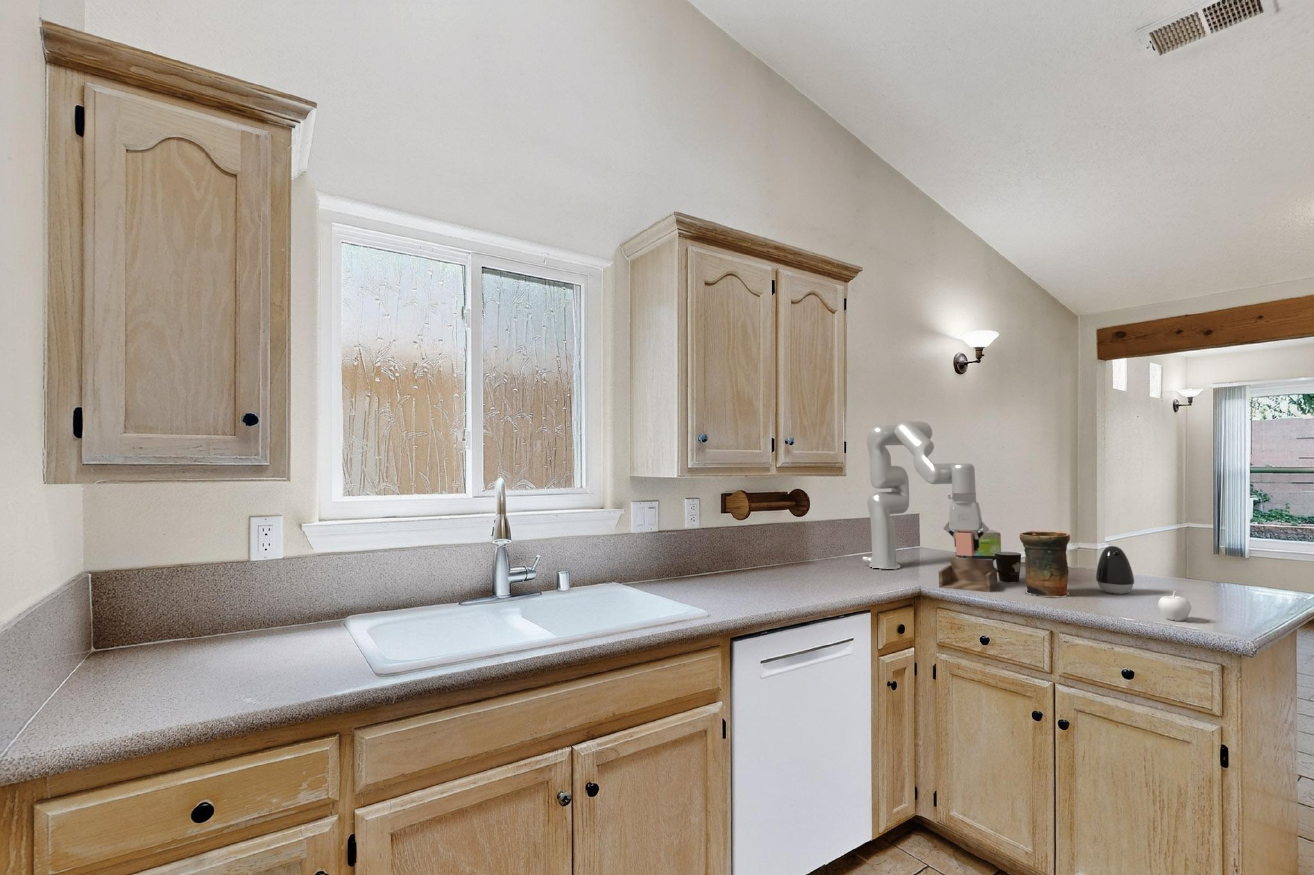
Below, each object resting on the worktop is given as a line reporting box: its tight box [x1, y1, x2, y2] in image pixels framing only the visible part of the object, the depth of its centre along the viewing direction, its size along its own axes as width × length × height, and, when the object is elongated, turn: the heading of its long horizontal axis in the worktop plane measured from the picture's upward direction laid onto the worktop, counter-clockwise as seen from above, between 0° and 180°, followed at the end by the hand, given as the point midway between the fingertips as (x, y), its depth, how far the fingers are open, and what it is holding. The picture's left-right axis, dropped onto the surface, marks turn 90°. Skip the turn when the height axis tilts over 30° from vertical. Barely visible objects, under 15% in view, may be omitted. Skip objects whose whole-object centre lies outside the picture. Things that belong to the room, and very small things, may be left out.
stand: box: [938, 557, 999, 593], centre depth 224 cm, size 16×15×9 cm
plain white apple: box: [1157, 590, 1192, 622], centre depth 173 cm, size 7×7×8 cm
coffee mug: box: [992, 551, 1022, 583], centre depth 232 cm, size 12×9×10 cm
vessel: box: [1019, 530, 1071, 598], centre depth 209 cm, size 14×14×20 cm
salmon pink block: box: [955, 531, 978, 556], centre depth 224 cm, size 5×10×8 cm, turn 143°
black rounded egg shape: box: [1095, 545, 1135, 595], centre depth 208 cm, size 10×10×15 cm
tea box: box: [955, 529, 1002, 569], centre depth 263 cm, size 15×10×15 cm
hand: (967, 549), depth 224 cm, fingers closed on salmon pink block, 4 cm apart
